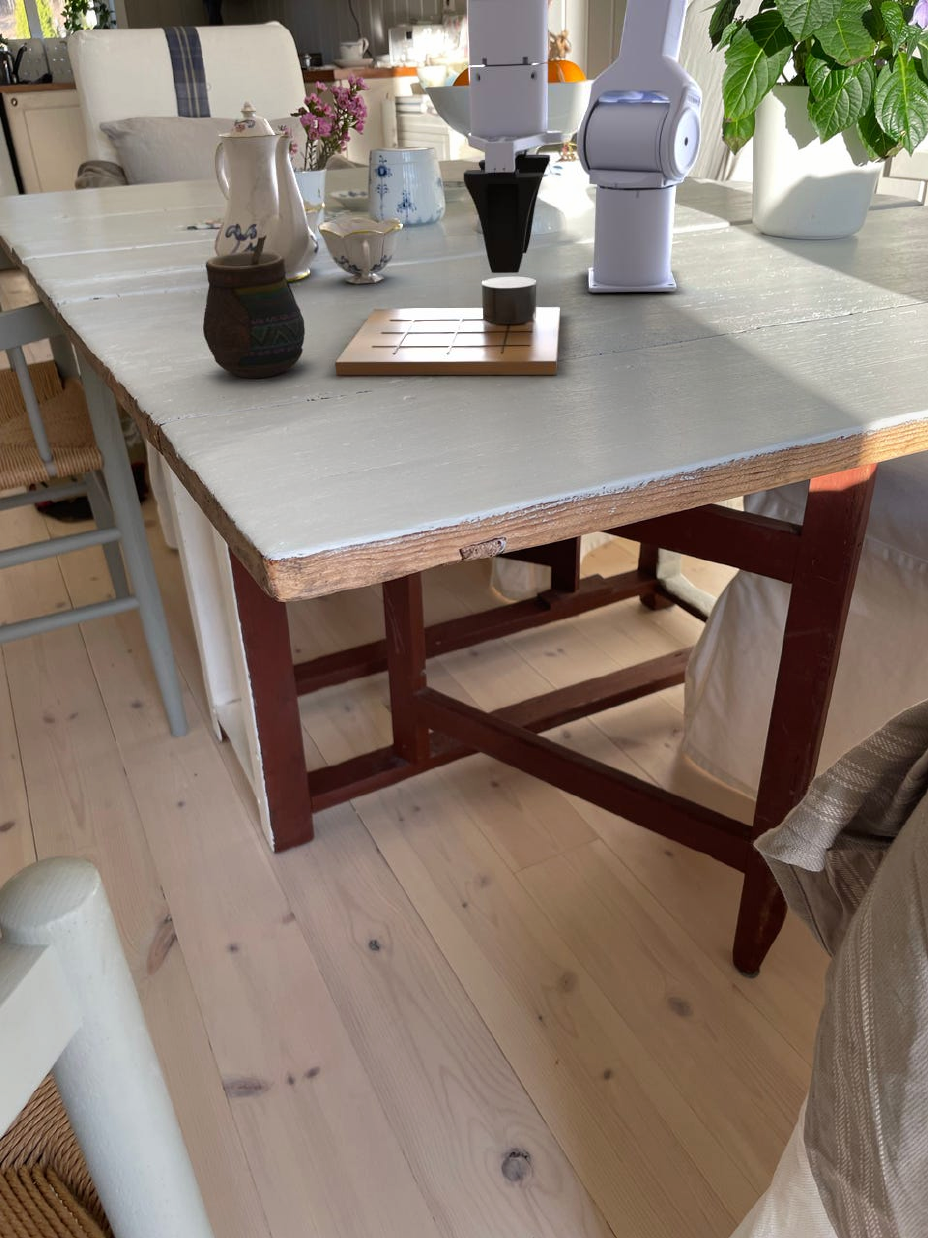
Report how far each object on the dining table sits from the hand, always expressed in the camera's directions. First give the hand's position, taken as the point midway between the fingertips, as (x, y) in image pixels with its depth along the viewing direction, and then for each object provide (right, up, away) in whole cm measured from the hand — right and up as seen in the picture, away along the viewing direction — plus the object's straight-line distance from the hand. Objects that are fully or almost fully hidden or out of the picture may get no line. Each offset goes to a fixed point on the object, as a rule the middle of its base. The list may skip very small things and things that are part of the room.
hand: (510, 261), depth 77 cm
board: (-4, -7, 0) cm, 8 cm away
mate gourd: (-19, -10, -4) cm, 22 cm away
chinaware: (-22, +9, +27) cm, 35 cm away
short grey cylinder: (0, -4, +2) cm, 4 cm away
